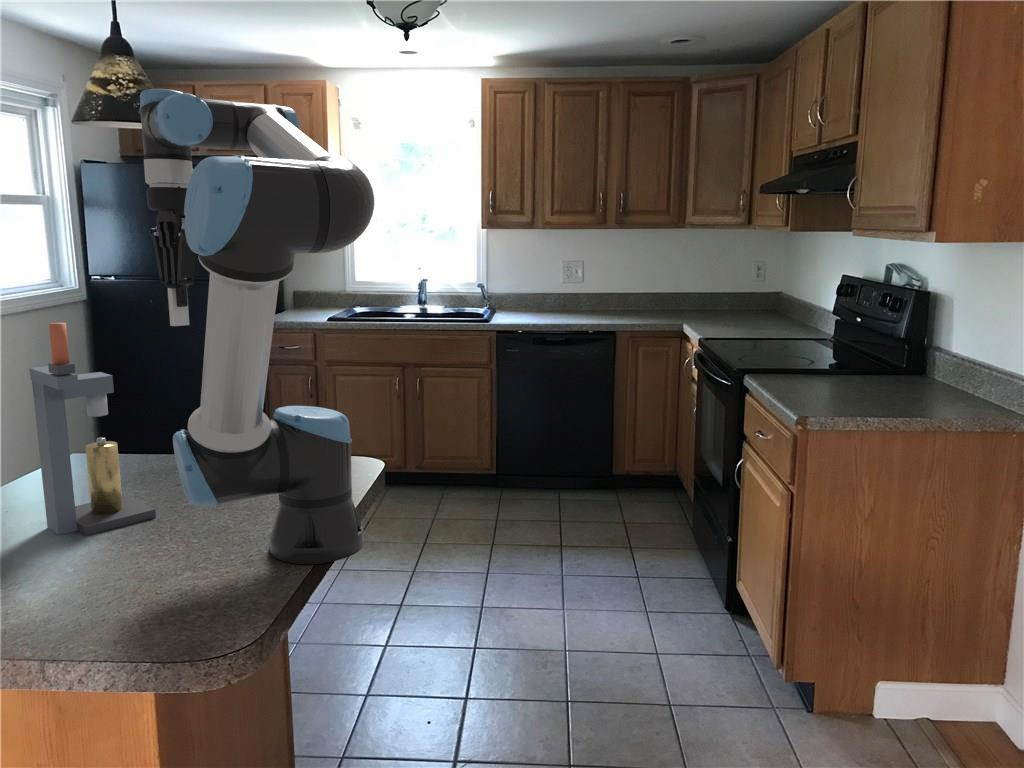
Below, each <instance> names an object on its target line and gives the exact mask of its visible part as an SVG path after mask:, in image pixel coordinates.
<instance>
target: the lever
mask: <svg viewBox="0 0 1024 768" xmlns="http://www.w3.org/2000/svg"><path fill="white" fill-rule="evenodd" d="M67 331H68V329H67V323H66V322H49V323H48V332H49V339H50V340H49V341H50V349H51V361H52V362H48V363H47V364H48V365H47V366H49V372H50V373H53V374H56V375H63V374H72V373H73V374H76V366H75V363H73V362H71V361H70V352H69V341H68V332H67Z"/></svg>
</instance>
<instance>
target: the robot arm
mask: <svg viewBox="0 0 1024 768" xmlns="http://www.w3.org/2000/svg"><path fill="white" fill-rule="evenodd" d="M139 104H140V105H139V107H140V108H139V109H138V110H139V111H138V112H139V115H140V121H141V122H140V123H141V133H142V134H141V135H142V143H143V144H142V145H143V168H144V179H145V181H144V182H145V183H146V185H149V187H147V189H145V191H146V200H147V201H146V202H147V203H146V204H147V208H148V210H151V211H156V212H157V213H156V221H155V222H156V223H155V224H156V226H155V227H151V228H149V234H150V237H151V240H152V243H153V248H154V249H153V251H154V254H155V255H154V256H155V259H156V260H155V261H156V267H157V273H158V278H159V281H160V283H161V284H164V286H165V287H166V288H167V299H168V300H167V301H168V311H169V313H168V314H169V326H170V327H171V326H172V327H180V326H181V327H182V326H190V314H189V313H190V312H189V297H188V288H189V287H190V286H191V285H192V286H193V285H194V284H195V272H196V271H195V270H196V269H195V267H196V255H197V254H198V255H197V256H198V257H197V258H198V260H199V263H200V265H201V266H202V267H203V268H204V269H205V270H206V271H207V272H208V273H209V283H208V294H207V295H208V296H207V310H206V322H205V324H206V325H205V336H204V353H203V363H202V364H203V365H202V378H201V379H202V380H201V390H200V392H201V393H200V406H199V407H198V408H196V409H195V410H193V412H192V413H191V415H190V416H189V418H188V422H187V429H180V430H179V431H178V430H177V431H176V432H175V433H174V434H173V436H172V446H173V451H174V453H173V454H174V458H175V463H176V467H177V471H178V474H179V479H180V482H181V485H182V489H183V491H184V492H183V493H184V495H185V497H186V498H187V501H188V502H189V503H190V505H193V506H195V507H210V506H221V505H225V504H229V503H235V502H240V501H244V500H245V501H247V500H250V499H256V498H261V497H266V496H271V495H272V496H273V495H277V494H278V507H277V510H276V513H275V516H274V520H273V524H272V529H271V532H270V535H269V552H270V554H271V556H272V557H274V558H275V559H277V560H279V561H281V562H282V561H283V562H284V563H288V564H296V565H319V564H320V565H321V564H326V563H327V564H328V563H333V562H337V561H340V560H344V559H346V558H349V557H352V556H353V555H355V554H357V553H358V552H360V550H362V549H363V547H364V545H365V534H364V533H365V532H364V527H363V525H362V523H361V519H360V516H359V514H358V512H357V509H356V506H355V503H354V501H353V487H352V486H353V484H352V482H353V481H352V480H353V479H352V444H351V443H352V441H353V440H352V437H351V430H350V429H351V428H350V422H349V419H348V417H347V416H346V415H345V414H344V413H342V412H340V411H337V410H334V409H329V408H326V407H320V406H309V405H308V406H307V405H287V406H285V405H284V406H281V407H278V408H276V409H275V411H274V413H273V418H274V419H270V418H269V417H268V415H267V414H266V413H265V412H264V405H265V404H264V403H265V397H266V389H267V380H268V373H269V365H270V356H271V349H272V340H273V333H274V324H275V316H276V309H277V301H278V292H279V284H280V281H283V280H285V279H286V278H288V277H290V275H291V274H292V272H293V270H294V269H293V268H294V264H295V263H294V262H295V256H296V255H297V254H298V255H299V254H327V253H330V252H334V251H338V250H342V249H344V248H345V247H348V246H349V245H351V244H352V243H354V242H356V240H357V239H358V238H359V237H361V236H362V235H363V234H364V232H365V230H366V229H367V228H368V226H369V224H370V222H371V220H372V217H373V215H374V208H375V195H374V190H373V187H372V184H371V181H370V180H369V179H368V177H367V175H366V174H365V173H364V171H363V170H362V169H360V168H359V167H358V166H357V165H356V164H355V163H354V162H352V161H351V160H349V159H348V158H346V157H344V156H342V155H339V154H331V153H329V152H327V150H325V148H323V147H322V146H321V145H320V144H318V143H316V142H315V140H313V139H312V138H310V137H309V136H308V135H306V134H305V133H304V132H302V131H301V130H300V122H299V118H298V117H297V113H296V111H295V110H294V109H293V108H291V107H289V106H283V105H282V106H281V105H278V104H273V103H270V104H269V103H268V104H264V103H252V102H243V101H242V102H241V101H231V100H223V99H211V98H202V97H198V96H196V95H194V94H192V93H187V92H182V91H178V90H174V89H170V88H169V89H167V88H150V89H144V90H142V91H141V92H140V95H139ZM192 148H202V149H203V148H204V149H205V148H206V149H219V150H220V149H223V150H225V149H226V150H236V151H238V150H239V151H250V152H252V153H253V154H254V155H256V156H257V157H253V156H245V155H243V154H237V155H236V154H235V155H231V156H229V155H228V156H226V155H225V156H223V155H221V156H219V155H217V156H215V155H213V156H208V157H206V158H204V159H202V160H201V161H200V162H199V163H198V164H197V165H196V166H195V167H194V168H193V157H192V156H193V154H192Z"/></svg>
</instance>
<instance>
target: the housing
mask: <svg viewBox="0 0 1024 768" xmlns="http://www.w3.org/2000/svg"><path fill="white" fill-rule="evenodd" d="M118 448H119V447H118V442H116V441H112V440H108V441H107V439H106V437H103V436H102V437H97V438H96V442H91V443H88V444H86V445H85V457H86V465H87V468H86V469H87V476H88V477H87V479H88V485H89V486H88V488H89V497H90V503H91V510H92V513H93V514H97V515H106V514H112V513H116V512H119V511H121V510H122V509H123V503H122V495H123V493H122V492H123V491H122V483H121V473H120V472H121V470H120V461H119V460H120V458H119V449H118Z"/></svg>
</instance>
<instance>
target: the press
mask: <svg viewBox="0 0 1024 768" xmlns="http://www.w3.org/2000/svg"><path fill="white" fill-rule="evenodd" d="M28 369H29V375H30V376H29V377H30V381H31V386H32V393H33V403H34V411H35V423H36V424H35V425H36V432H37V433H36V434H37V441H38V442H37V443H38V451H39V460H40V468H41V469H40V470H41V480H42V489H43V499H44V507H45V516H46V519H45V520H46V526H47V527H46V528H47V529H48V530H49V531H51V532H53V533H55V534H56V535H57V536H62V535H65V534H68V533H73V532H77V531H78V532H79V533H81V534H82V535H84V536H89V535H93V534H96V533H101V532H105V531H108V530H109V531H110V530H112V529H116V528H120V527H124V526H128V525H132V524H135V523H138V522H139V523H140V522H143V521H148V520H150V519H155V518H157V514H156V509H155V508H153V507H152V506H150V505H148V504H146V503H144V502H142V501H140V500H138V499H136V498H134V497H133V496H130V495H128V494H122V503H123V509H122V510H121V511H119V512H116V513H112V514H106V515H97V514H93V513H92V510H91V502H88V503H83V504H80V505H79V504H78V505H76V501H75V494H74V493H75V492H74V482H73V474H72V473H73V472H72V462H71V454H70V452H71V451H70V443H69V442H70V441H69V433H68V432H69V431H68V420H67V413H66V401H65V400H70V399H71V400H72V399H76V398H85V402H86V414H87V416H88V417H90V418H94V417H103V416H104V417H105V416H107V415H109V408H108V397H107V396H108V395H107V394H113V393H115V390H114V378H113V375H112V374H108V373H105V372H102V371H97V372H96V371H95V372H89V373H79V374H76V373H72V374H63V375H56V374H53V373H50V372H49V366H48V365H45V366H36V367H29V368H28Z"/></svg>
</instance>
